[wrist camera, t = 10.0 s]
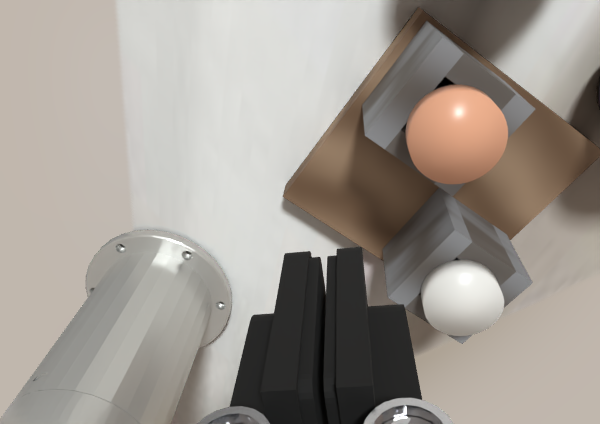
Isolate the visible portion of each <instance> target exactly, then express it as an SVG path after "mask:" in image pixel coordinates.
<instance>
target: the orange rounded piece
mask: <svg viewBox="0 0 600 424" xmlns="http://www.w3.org/2000/svg"><path fill="white" fill-rule="evenodd" d="M405 133H406V142H407V146H408V150H409V153H410V156H411V159H412V161H413V163H414V165H415V166H416V168H417V169H418V170H419V171H420V172H421V173H422V174H423V175H425V176H426V177H428V178H429V179H431V180H433V181H436V182H439V183H444V184H462V183H467V182H470V181H473V180H475V179H478V178H480V177H481V176H483V175H485V174H486V173H487V172H489V171H490V170H491V169H492V168H493V167H494V166H495V165H496V164H497V163H498V161H499V160H500V158H501V157H502V155H503V153H504V151H505V148H506V145H507V140H508V126H507V122H506V119H505V117H504V115H503V113H502V111H501V110H500V109H499V107H498V106H497V105H496V104H495V103H494V102H493V101H492V99H491V98H490V97H489V96H488V95H486V94H485V93H484V92H482V91H481V90H479V89H477V88H475V87H471V86H468V85H450V84H447V83H439V84H438V85H437V87H436V88H435V89H434V90H433V91H432V92H430V93H429V94H427V95H426V96H424V97H423V98H422V99H421V100H420V101H419V102H418V103H417V104H416V105H415V107H414V108H413V110H412V111H411V113H410V115H409V118H408V120H407V124H406V132H405Z"/></svg>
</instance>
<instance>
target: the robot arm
mask: <svg viewBox="0 0 600 424" xmlns="http://www.w3.org/2000/svg"><path fill="white" fill-rule="evenodd" d="M86 290H87V296H88V299H87V300H86V301H85V303H84V304H83V305H82V307H81V308H80V310H79V311H78V312H77V314H76V315H75V316H74V318H73V319H72V321H71V322H70V323H69V325H68V326H67V328H66V329H65V330H64V332H63V333H62V334H61V336H60V337H59V339H58V340H57V341H56V343H55V344H54V346H53V347H52V348H51V350H50V351H49V352H48V354H47V355H46V357H45V358H44V359H43V361H42V362H41V364H40V365H39V366H38V368H37V369H36V371H35V372H34V373H33V375H32V376H31V377H30V379H29V380H28V381H27V383H26V384H25V386H24V387H23V388H22V390H21V391H20V393H19V394H18V395H17V397H16V398H15V400H14V401H13V402H12V404H11V405H10V406H9V408H8V409H7V410H6V412H5V413H4V414H3V416H2V417H1V419H0V424H171V422H172V419H173V417H174V414H175V411H176V408H177V406H178V403H179V400H180V397H181V395H182V392H183V389H184V386H185V384H186V381H187V378H188V376H189V373H190V370H191V367H192V365H193V362H194V359H195V356H196V354H197V351H198V348H201V347H203V346H205V345H207V344H208V343H210V342H211V341H213V340H214V339H215V338H216V337H217V336H218V335H219V334H220V333H221V331H222V330H223V328H224V327H225V325H226V323H227V320H228V317H229V314H230V310H231V305H232V295H231V289H230V285H229V282H228V279H227V277H226V275H225V273H224V271H223V269H222V268H221V267H220V266H219V264H218V263H217V262H216V260H215V259H214V258H213V257H212V256H211V255H210V254H208V253H207V252H206V251H205V250H204V249H203V248H201V247H199V246H198V245H196V244H195V243H193V242H192V241H190V240H187V239H185V238H183V237H181V236H178V235H175V234H171V233H168V232H164V231H155V230H139V231H132V232H129V233H124V234H121V235H120V236H117V237H115V238H113V239H111V240H110V241H109V242H108V243H106V244H105V245H104V246H102V248H101V249H100V250H99V251H98V253H97V254H96V255H95V256H94V258H93V259H92V261H91V263H90V265H89V267H88V271H87V274H86ZM198 424H453V422H452V420H451V419H450V417H449V416H448V415H447V414H446V413H445V412H444V411H442V410H441V409H440V408H439V407H437V406H436V405H433V404H431V403H429V402H427V401H425V400H422V396H421V391H420V386H419V380H418V375H417V370H416V365H415V359H414V354H413V349H412V343H411V338H410V333H409V327H408V322H407V317H406V311H405V307H404V304H399V305H385V306H371V307H368V305H367V295H366V285H365V275H364V265H363V255H362V247H354V248H342V249H337V256H328V258H327V286H326V292H325V285H324V277H323V270H322V263H321V258H320V257H314V258H312V257H311V253H310V251H308V252H296V253H286V254H285V255H284V260H283V266H282V272H281V277H280V283H279V289H278V294H277V300H276V306H275V311H274V314H260V315H253V316H252V318H251V320H250V324H249V328H248V333H247V337H246V341H245V345H244V349H243V354H242V358H241V362H240V366H239V370H238V375H237V379H236V383H235V387H234V391H233V396H232V400H231V404H230V407H227V408H224V409H220V410H217V411H215V412H213V413H211V414H210V415H208V416H206V417H204V418H203V419H202V420H201V421H200V422H199V423H198Z"/></svg>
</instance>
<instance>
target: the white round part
mask: <svg viewBox="0 0 600 424" xmlns="http://www.w3.org/2000/svg"><path fill="white" fill-rule="evenodd" d="M421 299H422V304H423V309H424V313H425V316H426V319H427V320H428V322H429V323H430V324H431V325H432V326H433V327H434V328H435V329H437V330H438V331H440V332H442V333H445V334H448V335H453V336H469V335H473V334H477V333H480V332H482V331H484V330H486V329H488V328H489V327H491V326H492V325H493V324H494V323H495V322H496V321H497V320H498V319H499V317H500V316H501V314H502V311H503V308H504V297H503V294H502V291H501V289H500V287H499V284H498V282H497V280H496V278H495V276H494V274H493V273H492V272H491V271H490V269H488V268H487V267H486V266H484V265H482V264H480V263H478V262H475V261H470V260H460V259H458V258H457V257H456V258H455V259H454V260H453V261H450V262H446V263H444V264H442V265H440V266H438V267H436V268H435V269H433V270H432V271H431V272H430V273H429V274H428V275H427V276H426V278H425V279H424V281H423V283H422V287H421Z"/></svg>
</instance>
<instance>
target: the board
mask: <svg viewBox="0 0 600 424" xmlns="http://www.w3.org/2000/svg"><path fill="white" fill-rule="evenodd" d="M439 83H447V84H450V85H468V86H471V87H475V88H477V89H479V90H481V91H482V92H484V93H485V94H486V95H488V96H489V97H490V98H491V99H492V101H493V102H494V103H495V104H496V105H497V106H498V107H499V109H500V110H501V111H502V113H503V115H504V117H505V119H506V122H507V126H508V140H507V145H506V148H505V151H504V153H503V155H502V157H501V158H500V160H499V161H498V163H497V164H496V165H495V166H494V167H493V168H492V169H491V170H490V171H489V172H487V173H486V174H485V175H483V176H481V177H480V178H478V179H475V180H473V181H470V182H467V183H462V184H444V183H439V182H436V181H433V180H431V179H429V178H428V177H426V176H425V175H423V174H422V173H421V172H420V171H419V170H418V169H417V168H416V166H415V165H414V163H413V161H412V159H411V156H410V153H409V150H408V146H407V142H406V133H405V132H406V124H407V120H408V118H409V115H410V113H411V111H412V110H413V108H414V107H415V105H416V104H417V103H418V102H419V101H420V100H421V99H422V98H423V97H424V96H426V95H427V94H429V93H430V92H432V91H433V90H434V89H435V88H436V87H437V85H438V84H439ZM599 157H600V148H599V147H597V146H596V145H595V144H594V143H593V142H591V141H590V140H589V139H588V138H586V137H585V136H584V135H582V134H581V133H580V132H579V131H577V130H576V129H575V128H574V127H572V126H571V125H570V124H568V123H567V122H566V121H565V120H563V119H562V118H561V117H559V116H558V115H557V114H556V113H554V112H553V111H552V110H550V109H549V108H548V107H547V106H545V105H544V104H543V103H541V102H540V101H539V100H538V99H536V98H535V97H534V96H532V95H531V94H530V93H529V92H527V91H526V90H525V89H523V88H522V87H521V86H520V85H518V84H517V83H516V82H515V81H513V80H512V79H511V78H509V77H508V76H507V75H506V74H504V73H503V72H502V71H500V70H499V69H498V68H497V67H495V66H494V65H493V64H491V63H490V62H489V61H488V60H486V59H485V58H484V57H482V56H481V55H480V54H479V53H477V52H476V51H475V50H473V49H472V48H471V47H470V46H468V45H467V44H466V43H464V42H463V41H462V40H461V39H459V38H458V37H457V36H456V35H454V34H453V33H452V32H450V31H449V30H448V29H447V28H445V27H444V26H443V25H441V24H440V23H439V22H438V21H436V20H435V19H434V18H432V17H431V16H430V15H429V14H427V13H426V12H425V11H423V10H422V9H421V8H420V7H418V8H417V10H416V11H415V13H414V14H413V15H412V17H411V18H410V19H409V21H408V22H407V23H406V25H405V26H404V27H403V29H402V30H401V31H400V33H399V34H398V35H397V37H396V38H395V39H394V41H393V42H392V43H391V45H390V46H389V47H388V49H387V50H386V51H385V53H384V54H383V55H382V57H381V58H380V59H379V61H378V62H377V63H376V65H375V66H374V67H373V69H372V70H371V72H370V73H369V74H368V76H367V77H366V78H365V80H364V81H363V82H362V84H361V85H360V86H359V88H358V89H357V90H356V92H355V93H354V94H353V96H352V97H351V98H350V100H349V101H348V102H347V104H346V105H345V106H344V108H343V109H342V110H341V112H340V113H339V114H338V116H337V117H336V118H335V120H334V121H333V122H332V124H331V125H330V127H329V128H328V129H327V131H326V132H325V133H324V135H323V136H322V137H321V139H320V140H319V141H318V143H317V144H316V145H315V147H314V148H313V149H312V151H311V152H310V153H309V155H308V156H307V157H306V159H305V160H304V161H303V163H302V164H301V165H300V167H299V168H298V169H297V171H296V172H295V173H294V175H293V176H292V177H291V179H290V180H289V181H288V183H287V184H286V186H285V190H284V194H283V197H284V198H286V199H287V200H289V201H290V202H292V203H293V204H295V205H297V206H298V207H300V208H301V209H303V210H304V211H306V212H307V213H309V214H311V215H312V216H314V217H315V218H317V219H318V220H320V221H322V222H323V223H325V224H326V225H328V226H329V227H331V228H333V229H334V230H336V231H337V232H339V233H340V234H342V235H343V236H345V237H347V238H348V239H350V240H351V241H353V242H354V243H356V244H358V245H359V246H361V247H362V248H364V249H365V250H367V251H369V252H370V253H372V254H373V255H375V256H376V257H378V258H379V259H381V260H383V261H384V268H385V277H386V286H387V295H388V298H389V299H391V300H392V301H394V302H395V303H397V304H404V307H405V309H407V310H408V311H410V312H412V313H413V314H415V315H416V316H418V317H420V318H421V319H423V320H424V321H426V322H428V320H427V319H426V316H425V313H424V309H423V304H422V299H421V287H422V283H423V281H424V279H425V278H426V276H427V275H428V274H429V273H430V272H431V271H432V270H433V269H435V268H436V267H438V266H440V265H442V264H444V263H446V262H450V261H453V260H454V259H455V258H456V257H457V258H458V259H460V260H470V261H475V262H478V263H480V264H482V265H484V266H486V267H487V268H488V269H490V271H491V272H492V273H493V274H494V276H495V278H496V280H497V282H498V284H499V287H500V289H501V291H502V294H503V297H504V307H505V306H507V305H508V304H509V303H510V302H511V301H512V300H513V299H515V298H516V297H517V296H518V295H519V294H520V293H522V292H523V291H524V290H525V289H526V288H527V287H529V286H530V285H531V284H532V283H533V282H532V281H531V279H530V277H529V275H528V273H527V271H526V269H525V268H524V266H523V264H522V262H521V260H520V258H519V256H518V254H517V253H516V251H515V249H514V247H513V245H512V243H511V241H510V240H511V239H512V238H513V237H514V236H515V235H516V234H517V233H519V232H520V231H521V230H522V229H523V228H524V227H525V226H526V225H527V224H528V223H529V222H530V221H531V220H532V219H534V218H535V217H536V216H537V215H538V214H539V213H540V212H541V211H542V210H543V209H544V208H545V207H546V206H547V205H548V204H550V203H551V202H552V201H553V200H554V199H555V198H556V197H557V196H558V195H559V194H560V193H561V192H562V191H563V190H565V189H566V188H567V187H568V186H569V185H570V184H571V183H572V182H573V181H574V180H575V179H576V178H577V177H578V176H580V175H581V174H582V173H583V172H584V171H585V170H586V169H587V168H588V167H589V166H590V165H591V164H592V163H593V162H594V161H596V160H597V159H598V158H599ZM428 323H429V322H428ZM429 324H430V323H429ZM447 335H448V334H447ZM448 336H450V337H452V338H453V339H455V340H457V341H458V342H460V343H462V344H463V343H464V342H465V341H466V340H467V339H468V338H469V337H471V336H472V335H469V336H453V335H448Z"/></svg>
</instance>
